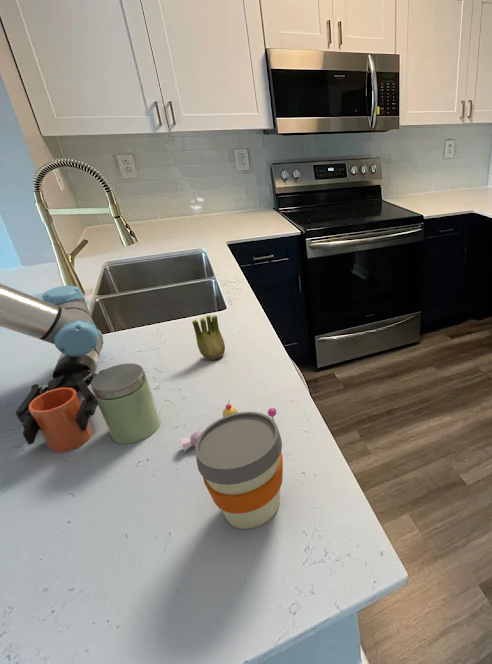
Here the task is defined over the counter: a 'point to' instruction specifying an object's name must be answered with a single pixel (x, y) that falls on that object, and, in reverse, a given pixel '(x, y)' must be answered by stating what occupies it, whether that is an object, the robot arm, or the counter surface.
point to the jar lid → (118, 381)
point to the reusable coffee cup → (242, 467)
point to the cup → (59, 419)
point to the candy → (227, 411)
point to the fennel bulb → (209, 338)
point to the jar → (130, 415)
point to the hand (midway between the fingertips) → (55, 431)
